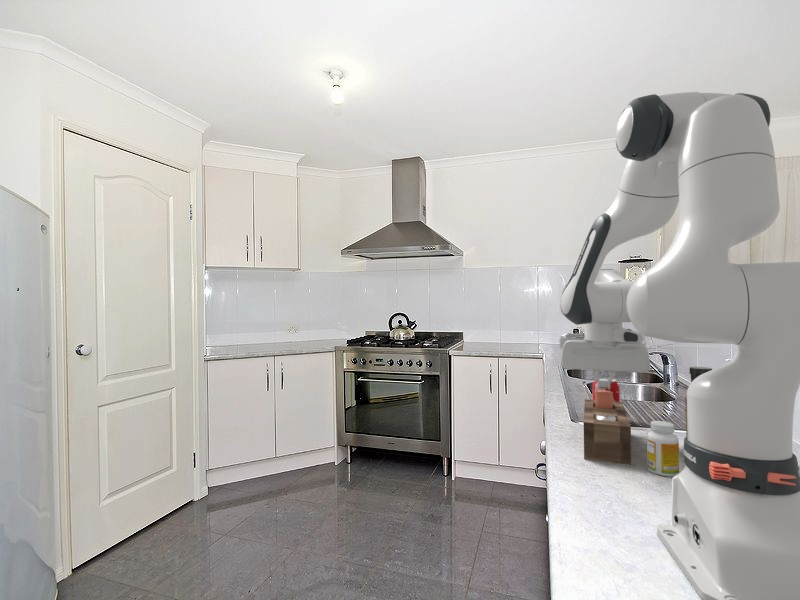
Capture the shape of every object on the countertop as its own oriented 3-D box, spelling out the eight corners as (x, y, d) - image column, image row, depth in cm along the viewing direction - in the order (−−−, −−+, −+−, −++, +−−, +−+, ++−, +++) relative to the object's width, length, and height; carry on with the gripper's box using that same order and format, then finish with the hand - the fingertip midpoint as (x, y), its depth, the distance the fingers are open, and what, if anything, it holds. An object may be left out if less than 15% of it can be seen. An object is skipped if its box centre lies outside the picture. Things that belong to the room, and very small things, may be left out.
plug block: (631, 465, 85) (630, 427, 85) (584, 459, 89) (583, 422, 89) (622, 433, 107) (622, 402, 107) (585, 428, 111) (584, 399, 111)
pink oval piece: (613, 422, 101) (613, 394, 101) (595, 420, 103) (595, 392, 103) (612, 418, 105) (612, 391, 105) (595, 416, 106) (595, 389, 106)
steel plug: (616, 451, 90) (616, 419, 90) (596, 449, 92) (596, 417, 92) (615, 446, 94) (615, 415, 94) (596, 443, 95) (595, 413, 95)
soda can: (588, 420, 119) (587, 379, 119) (600, 416, 123) (599, 376, 124) (613, 425, 114) (612, 382, 114) (624, 421, 118) (624, 379, 118)
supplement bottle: (682, 472, 82) (682, 423, 82) (674, 479, 78) (673, 428, 78) (652, 464, 86) (651, 418, 86) (643, 471, 82) (642, 422, 82)
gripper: (558, 333, 106) (559, 387, 105) (650, 335, 97) (651, 394, 97) (560, 332, 111) (560, 383, 111) (647, 333, 103) (648, 389, 102)
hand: (603, 388), depth 104 cm, fingers closed
